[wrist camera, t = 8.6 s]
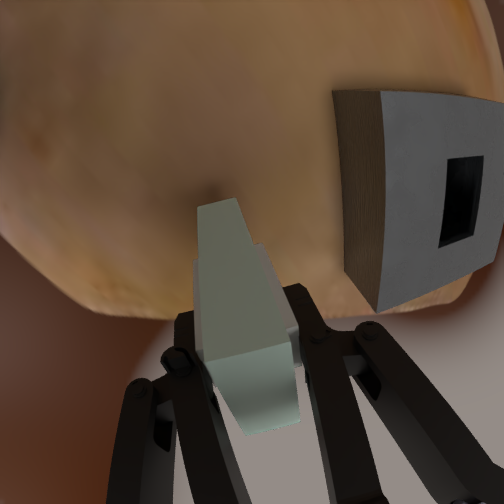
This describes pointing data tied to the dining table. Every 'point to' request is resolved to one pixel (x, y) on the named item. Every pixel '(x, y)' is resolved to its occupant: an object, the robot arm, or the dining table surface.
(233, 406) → the pale green flat block
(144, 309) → the dining table surface
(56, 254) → the dining table surface
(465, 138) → the grey slotted box
